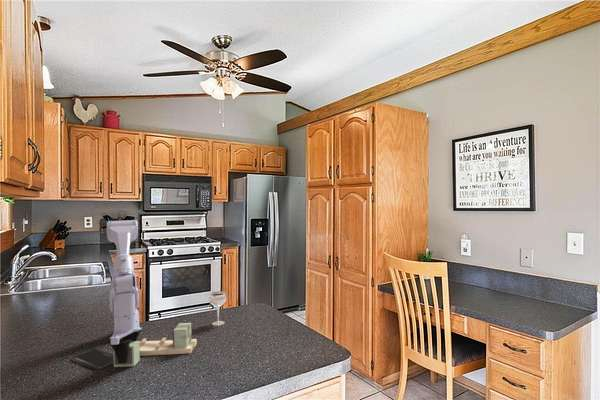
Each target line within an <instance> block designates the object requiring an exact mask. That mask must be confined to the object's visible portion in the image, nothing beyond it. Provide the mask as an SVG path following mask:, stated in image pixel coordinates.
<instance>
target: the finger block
mask: <svg viewBox="0 0 600 400" xmlns="http://www.w3.org/2000/svg"><path fill="white" fill-rule="evenodd" d="M139 342H140V340H137V341H131V342H130V345H129V348H128V357H127V362H126V363H118V360H117V357H116V354H115V351H114V350H113V349H112V351H113V356H114V364H113V367H114V368H125V367H135V366H136V364H138V362H140V360H141V356H140V354H139Z"/></svg>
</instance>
